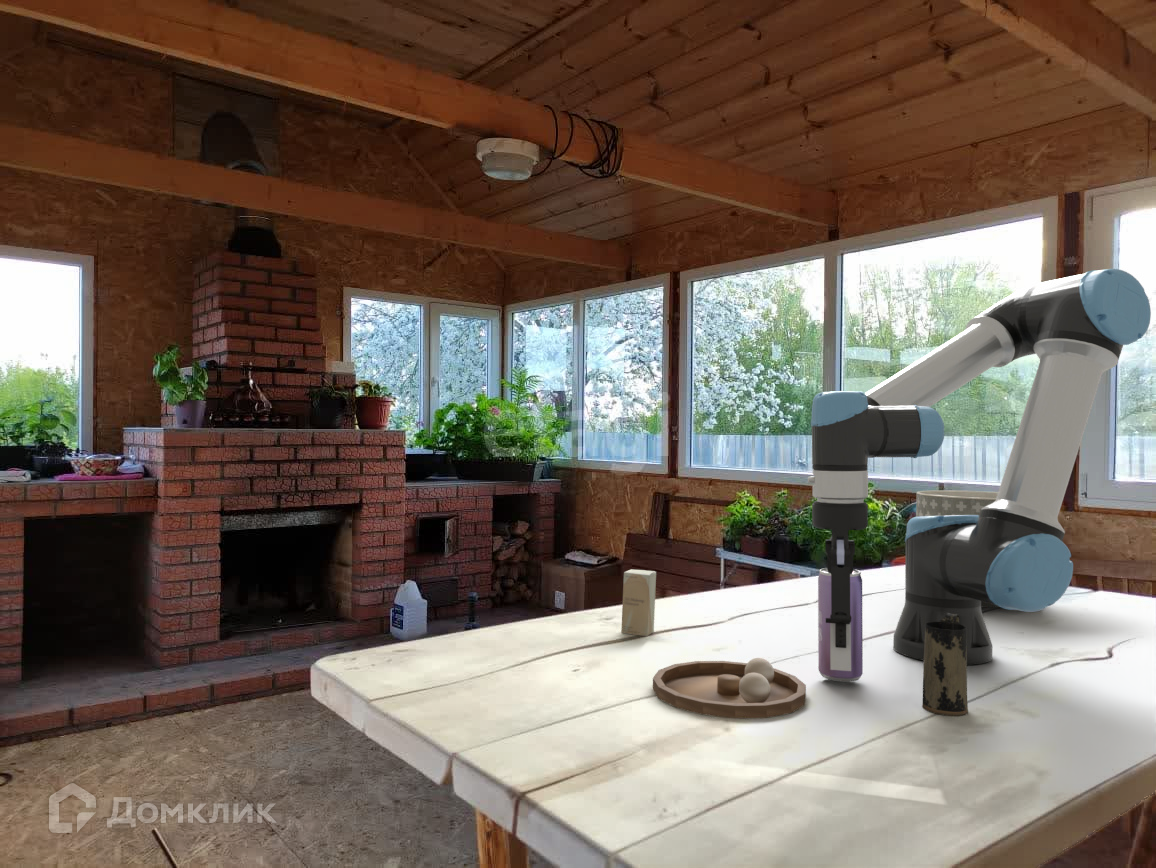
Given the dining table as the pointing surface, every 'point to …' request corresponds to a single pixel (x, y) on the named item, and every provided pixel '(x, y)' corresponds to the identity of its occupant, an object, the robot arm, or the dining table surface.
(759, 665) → the bead
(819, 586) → the beverage can
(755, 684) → the bead
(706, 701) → the tray
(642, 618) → the box
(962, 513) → the planter
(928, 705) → the mug
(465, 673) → the dining table surface
